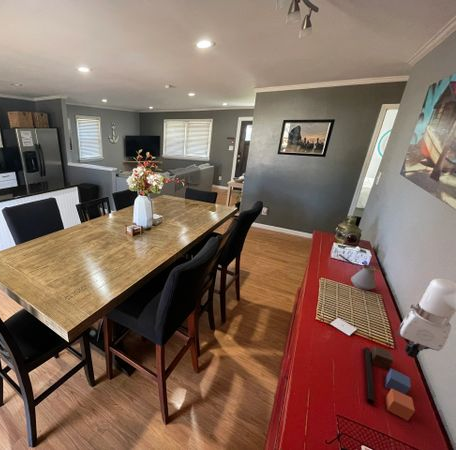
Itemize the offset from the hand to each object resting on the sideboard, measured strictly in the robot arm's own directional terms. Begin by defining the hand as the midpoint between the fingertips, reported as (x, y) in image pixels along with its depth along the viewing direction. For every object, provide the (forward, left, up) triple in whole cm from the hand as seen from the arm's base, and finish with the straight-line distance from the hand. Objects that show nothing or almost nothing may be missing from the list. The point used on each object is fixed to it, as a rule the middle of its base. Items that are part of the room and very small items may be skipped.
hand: (409, 354), depth 86 cm
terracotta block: (+2, +17, -11) cm, 20 cm away
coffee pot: (+14, -63, -11) cm, 65 cm away
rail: (+9, +7, -11) cm, 16 cm away
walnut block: (+5, -2, -11) cm, 12 cm away
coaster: (+17, -16, -11) cm, 26 cm away
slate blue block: (+2, +7, -11) cm, 13 cm away
